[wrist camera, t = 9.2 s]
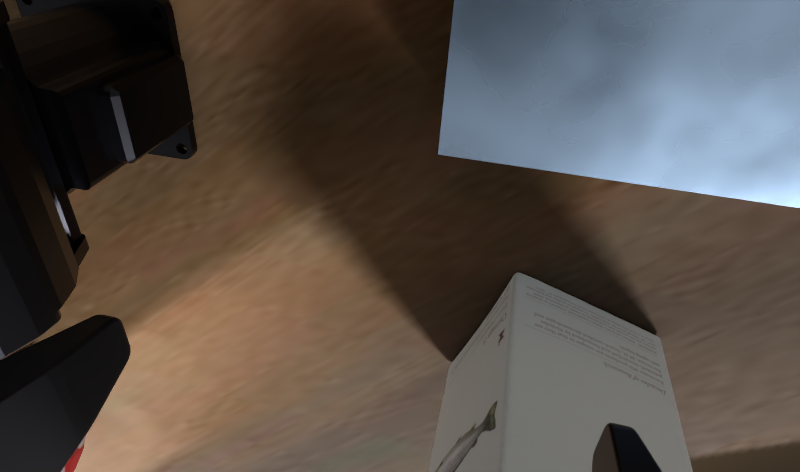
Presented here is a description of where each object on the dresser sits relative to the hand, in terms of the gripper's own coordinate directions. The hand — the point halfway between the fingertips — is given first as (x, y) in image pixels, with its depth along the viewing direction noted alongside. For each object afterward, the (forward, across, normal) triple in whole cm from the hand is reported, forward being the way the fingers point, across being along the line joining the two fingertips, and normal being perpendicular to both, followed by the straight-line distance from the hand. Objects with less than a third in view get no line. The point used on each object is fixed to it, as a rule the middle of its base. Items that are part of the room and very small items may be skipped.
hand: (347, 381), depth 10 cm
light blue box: (+13, -8, -3) cm, 16 cm away
